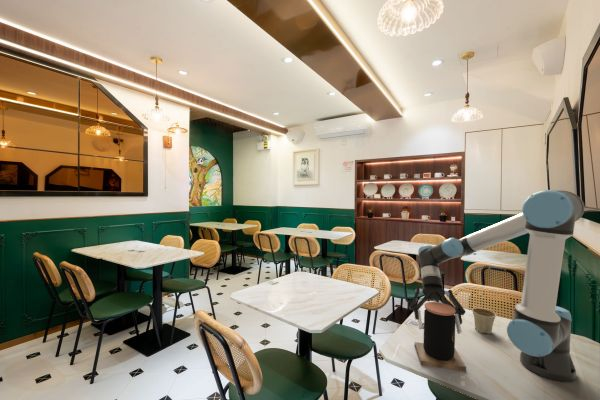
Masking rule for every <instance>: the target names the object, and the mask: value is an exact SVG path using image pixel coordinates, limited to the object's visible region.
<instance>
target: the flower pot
mask: <svg viewBox="0 0 600 400" xmlns="http://www.w3.org/2000/svg"><path fill="white" fill-rule="evenodd" d="M471 311H472V314H473V320H474V328H475V330H476V331H477V332H479V333H481V334H488V335H489V334H491V333H492V332H493V331H492V330H493V326H494V322H495V319H496V317H497V313H495V312H494V311H492V310H490V309H487V308H481V307H475V308H471Z"/></svg>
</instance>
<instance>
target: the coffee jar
mask: <svg viewBox="0 0 600 400" xmlns="http://www.w3.org/2000/svg"><path fill="white" fill-rule="evenodd" d="M424 308H425V309H424V311H423V312H424V313H423V314H424V315H423V342H422V343H423V347H424V350H425V352H426V353H427V354H428V355H429V356H430V357H432V358H434V359H437V360H442V361H448V360H451V359H452V358H453V357H454V352H455V349H456V348H455V347H456V346H455V345H456V343H455V342H456V339H455V338H456V323H455V319H456V318H455V312H456V310H455V309H454V308H453V307H452V306H450V305H447V304H444V303H442V302H441V301H428V302H427V301H426V302H425V303H424Z"/></svg>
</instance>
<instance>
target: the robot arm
mask: <svg viewBox="0 0 600 400" xmlns="http://www.w3.org/2000/svg"><path fill="white" fill-rule="evenodd" d="M585 207H586V206H585V203H584V202H583V200H582V198H581V197H579V195H577V194H575V193H574V192H571V191H567V190H557V189H556V190H555V189H543V190H541V191H537V192H534V193H533V194H531V195H529V196H528V197H526V199H525V200H524V202H523V204H522V208H521V209H522V210H521V211H522V212H521V213H518V214H516V215H513V216H511V217H508V218H506V219H504V220H501V221H500V222H497V223H494V224H492V225H490V226H487V227H485V228H481V230H478V231H475V232H473V233H470V234H468V235H466V236H463V237H461V238H459V239H457V238H456V237H449V238H447V239H444V240H443V241H441V242H439V243H438V244H436V245H434V246H433V245H430V244H425V245H422V246H420V247H419V248H418V255H417V256H418V260H419V267H420V274H421V280H422V281H421V282H422V288H420V287H419V286H416V287H415V292H414V293H415V294H414V296H413V298H412V300H411V302H410V304H409V307H408V309H409V310H410V311H413V313H414V319H415V320H417V322H418V323H417V324H418V330H422V328H423V324H422V323H423V322H422V315H421V307H422V306H423V305H425V303H427V301H428V300H429V302H440V303H444V304H447V305H450V306H452V307H453V308H454V309H455V310H456V312H455V314H454V315H455V318H456V319H455V329H456V332H457V335H460V334H461V333H462V326H461V325H462V324H463V319H462V316H464V315H465V314H466V310H465V309H464V307H463V306H462V305H461V304H460V302H459V301H458V299H457V298H456V296H455V295H454V292H453V291H452V289H448V290H444V287H443V283H442V279H441V278H442V276H441V271H440V267H439V266H440V264H442V263H444V262H447V261H449V260H451V259H456V258H460V257H465V256H471V255H472V254H474V253H476V252H479V251H481V250H484V249H488V248H489V247H492V246H496V245H498V244H502V243H504V242H506V241H510V240H513V239H515V238H518V237H521V236H523V235H526V234H529V241H528V246H527V255H526V263H525V271H524V277H523V286H522V294H521V301H520V302H519V303H517V304H516V303H515V306H514V311H513V319H512V320H510V322H509V323H508V325H507V327H506V333H507V336H508V339H509V341H510V342H511V343H512V344H513V346H514V347H515V348H516V349H518V350H519V351H520V353H519V362H520V363H521V364H522V365H523V366H524V367H525V368H526V369H527V370H529V371H531V372H532V373H534V374H536V375H539V376H541V377H544V378H547V379H550V380H552V381H553V380H554V381H558V382H563V383H567V382H568V383H569V382H573V381H576V378H577V370H576V367H575V364H574V361H573V358H572V357H571V353H570V352H571V351H570V350H571V336H572V335H571V331H572V329H571V328H572V321H573V320H572V315H571V312H570V310H568V309H566V308H564V307H562V306H561V307H560V306H557V300H558V294H559V293H558V292H559V286H560V279H561V274H562V264H563V259H564V251H565V247H566V245H565V244H566V240H567V239H569V238H571V237H572V236H574V230H575V226H576V222H577V221H579V220H580V219H581V218H582V216H583V215H584V213H585ZM420 294H423V295H424V296H423V298H421V299H420V300H419V302H417V304H416V301H417V299H418V298H419V295H420ZM445 295H446V296H445ZM447 297H448V298H447ZM450 301H451V302H450ZM415 304H416V305H415Z"/></svg>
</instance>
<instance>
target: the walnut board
mask: <svg viewBox="0 0 600 400" xmlns="http://www.w3.org/2000/svg"><path fill="white" fill-rule="evenodd" d="M423 343H424V342H419V341H417V342H416V341H414V349H415V351H416V354H417V358H418V361H419V364H420V365H421V366H428V367H435V368H442V369H447V370H448V369H449V370H456V371H463V372H467V366H466V365H465V363H464V361H463V359H462V358H461V356H460V354H459V353H458V350H457V349H456V348H455V352H454V357H453V358H452V359H451V360H448V361H442V360H437V359H434V358H432V357H430V356H429V355H428V354H427V353H426V352H425V350H424V347H423Z"/></svg>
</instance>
